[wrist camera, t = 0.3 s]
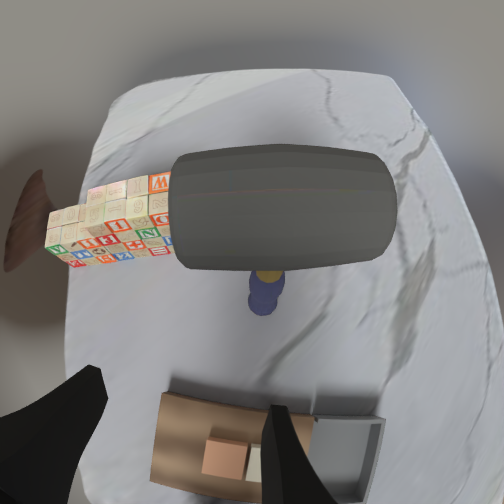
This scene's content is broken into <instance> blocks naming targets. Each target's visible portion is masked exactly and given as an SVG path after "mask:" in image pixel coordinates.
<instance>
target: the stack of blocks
mask: <svg viewBox="0 0 504 504" xmlns="http://www.w3.org/2000/svg"><path fill="white" fill-rule="evenodd" d="M170 174H171V172H165V173H160V174H155V175H150V176H148V175H145V176H140V177H136V178H131V179H128V180H122V181H118V182H114V183H110V184H108V185H103V186H99V187H96V188H92V189H89V190H88V195H87V202H86V203H85V204H81V205H80V204H79V205H75V206H72V207H68V208H65V209H61V210H58V211H54V212H51V213H50V215H49V221H48V227H47V235H46V242H45V248H46V249H47V250H48V251H50V252H51V253H53V254H54V255H56V256H58V257H59V258H60V259H62V260H63V261H65V262H67V263H68V264H69V265H71V266H72V267H80V266H86V265H88V266H89V265H96V264H101V263H109V262H116V261H120V260H127V259H134V258H140V257H146V256H156V255H163V254H170V253H175V251H174V248H173V244H172V240H171V235H170V227H169V219H168V188H169V179H170Z"/></svg>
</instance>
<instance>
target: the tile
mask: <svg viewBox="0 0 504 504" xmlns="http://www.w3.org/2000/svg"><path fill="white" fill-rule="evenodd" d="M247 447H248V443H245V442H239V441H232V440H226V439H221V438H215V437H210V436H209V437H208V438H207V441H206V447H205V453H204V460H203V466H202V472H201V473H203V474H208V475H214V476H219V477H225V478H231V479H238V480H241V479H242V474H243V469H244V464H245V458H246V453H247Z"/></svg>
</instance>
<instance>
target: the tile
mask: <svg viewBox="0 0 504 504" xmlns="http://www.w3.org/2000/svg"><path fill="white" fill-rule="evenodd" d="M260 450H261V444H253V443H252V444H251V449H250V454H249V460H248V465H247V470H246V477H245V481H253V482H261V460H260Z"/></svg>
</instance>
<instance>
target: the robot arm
mask: <svg viewBox="0 0 504 504" xmlns="http://www.w3.org/2000/svg"><path fill="white" fill-rule="evenodd" d="M107 401H108V396H107V392H106V388H105V385H104V381H103V377H102V373H101V369H100V368H97V367H95V366H92V365H87V366H86V367H84V368H83V369H82V370H80V371H79V372H78V373H76V374H75V375H74V376H72V377H71V378H69V379H68V380H67V381H65V382H64V383H63V384H61V385H60V386H58V387H57V388H56V389H54V390H53V391H51V392H50V393H48V394H47V395H45V396H44V397H42V398H40V399H39V400H37V401H35V402H34V403H32V404H30V405H28V406H26V407H25V408H22V409H21V410H18V411H16V412H14V413H11V414H9V415H6V416H3V417H0V504H67V502H68V498H69V492H70V489H71V485H72V482H73V478H74V475H75V471H76V469H77V466H78V463H79V460H80V458H81V455H82V453H83V451H84V449H85V447H86V445H87V443H88V442H89V440H90V438H91V436H92V434H93V432H94V430H95V428H96V426H97V425H98V423H99V421H100V419H101V417H102V414H103V412H104V409H105V406H106V403H107ZM260 460H261V487H262V504H338V503H337V502H336V500H335V499H334V498H333V497H332V496H331V494H330V493H329V492H328V490H327V489H326V488H325V486H324V485H323V483H322V482H321V480H320V479H319V477H318V475H317V474H316V472H315V470H314V469H313V467H312V465H311V463H310V461H309V460H308V458H307V456H306V454H305V452H304V449H303V447H302V445H301V443H300V441H299V438H298V436H297V433H296V431H295V428H294V426H293V423H292V420H291V417H290V414H289V410H288V407H287V406H280V405H271V406H270V409H269V412H268V415H267V418H266V421H265V424H264V427H263V430H262V438H261V450H260Z"/></svg>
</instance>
